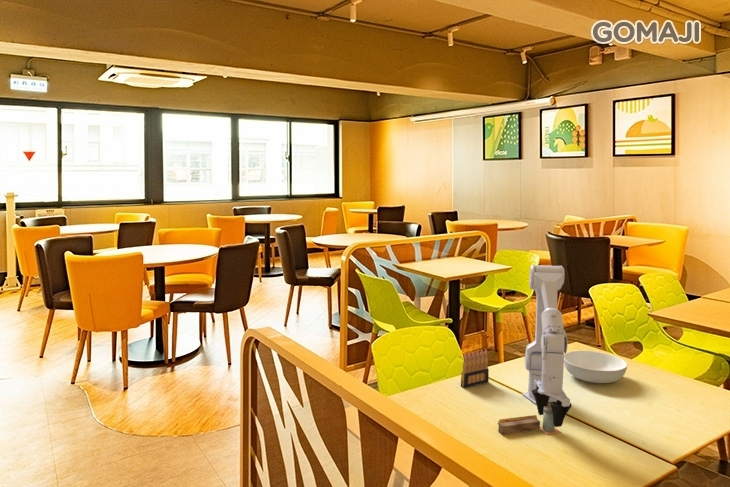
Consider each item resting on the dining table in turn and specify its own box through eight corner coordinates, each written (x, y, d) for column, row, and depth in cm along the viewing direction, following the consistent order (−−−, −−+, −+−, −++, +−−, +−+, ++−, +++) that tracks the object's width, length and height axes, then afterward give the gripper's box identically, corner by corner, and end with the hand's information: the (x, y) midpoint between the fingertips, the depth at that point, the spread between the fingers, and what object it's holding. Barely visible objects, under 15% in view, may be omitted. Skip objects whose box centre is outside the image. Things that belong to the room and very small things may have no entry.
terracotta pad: (551, 425, 165) (551, 424, 165) (560, 432, 160) (561, 432, 160) (538, 427, 163) (538, 426, 163) (547, 434, 159) (547, 434, 159)
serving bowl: (637, 390, 190) (638, 370, 189) (574, 390, 190) (575, 370, 189) (610, 367, 211) (612, 349, 210) (554, 367, 211) (555, 349, 210)
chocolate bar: (538, 424, 167) (538, 416, 166) (501, 428, 164) (501, 421, 163) (533, 420, 169) (534, 413, 169) (496, 424, 166) (497, 417, 166)
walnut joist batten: (535, 426, 164) (536, 418, 164) (539, 429, 162) (540, 421, 162) (498, 431, 161) (498, 423, 160) (501, 434, 159) (502, 426, 159)
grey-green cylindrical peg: (551, 426, 163) (552, 405, 162) (556, 432, 160) (557, 410, 159) (540, 427, 163) (541, 405, 162) (545, 432, 160) (546, 410, 159)
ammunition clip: (463, 388, 191) (464, 354, 190) (460, 386, 193) (461, 352, 191) (488, 382, 196) (489, 349, 195) (485, 380, 198) (486, 347, 196)
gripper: (525, 366, 165) (523, 410, 167) (555, 385, 151) (552, 433, 153) (547, 364, 167) (544, 408, 169) (577, 383, 153) (575, 430, 155)
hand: (549, 420), depth 161 cm, fingers open, 7 cm apart
